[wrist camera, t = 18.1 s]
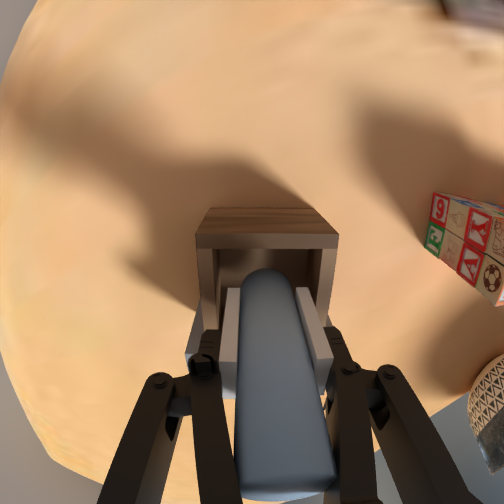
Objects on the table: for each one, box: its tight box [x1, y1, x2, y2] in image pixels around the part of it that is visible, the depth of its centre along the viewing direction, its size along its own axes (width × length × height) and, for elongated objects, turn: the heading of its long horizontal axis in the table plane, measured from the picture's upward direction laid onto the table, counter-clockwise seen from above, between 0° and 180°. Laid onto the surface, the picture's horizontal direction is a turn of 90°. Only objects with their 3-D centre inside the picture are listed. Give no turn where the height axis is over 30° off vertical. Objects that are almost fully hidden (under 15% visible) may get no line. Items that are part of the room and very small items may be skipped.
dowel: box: [233, 268, 337, 501], centre depth 13 cm, size 4×4×14 cm
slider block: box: [195, 208, 339, 332], centre depth 22 cm, size 9×9×7 cm
